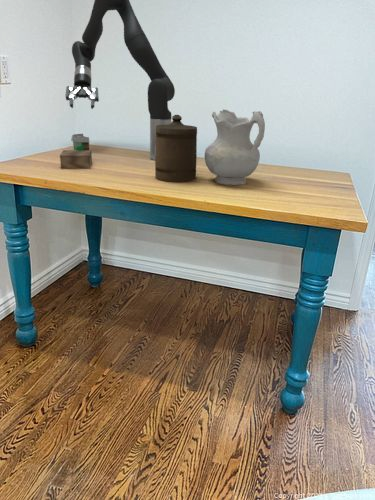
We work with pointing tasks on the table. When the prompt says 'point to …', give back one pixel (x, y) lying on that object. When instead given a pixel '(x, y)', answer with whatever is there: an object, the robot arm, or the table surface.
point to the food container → (80, 142)
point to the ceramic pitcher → (234, 148)
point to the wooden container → (176, 151)
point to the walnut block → (76, 159)
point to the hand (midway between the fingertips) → (82, 107)
